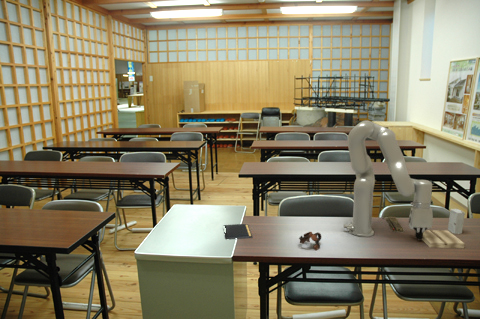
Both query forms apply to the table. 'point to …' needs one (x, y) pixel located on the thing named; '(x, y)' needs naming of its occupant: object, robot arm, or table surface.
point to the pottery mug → (312, 236)
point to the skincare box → (456, 221)
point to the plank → (433, 240)
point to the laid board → (448, 238)
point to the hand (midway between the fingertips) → (418, 239)
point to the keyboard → (394, 224)
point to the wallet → (237, 231)
